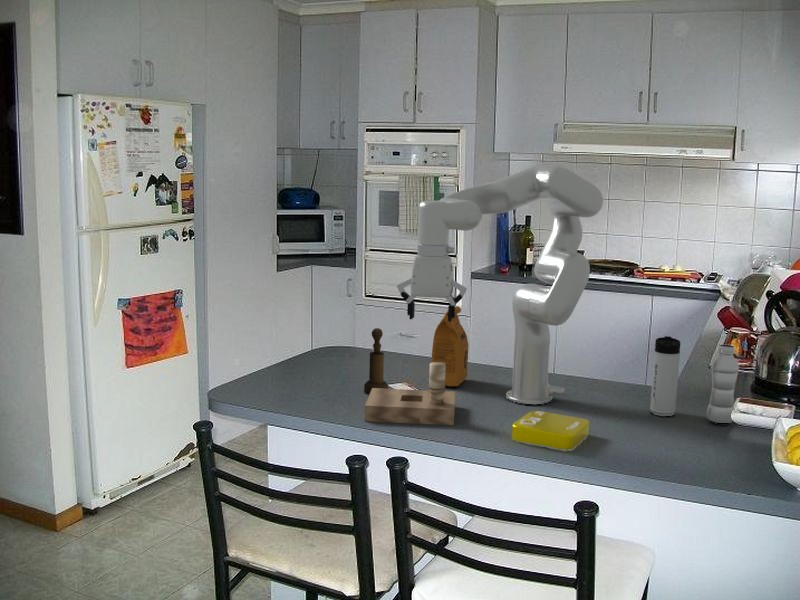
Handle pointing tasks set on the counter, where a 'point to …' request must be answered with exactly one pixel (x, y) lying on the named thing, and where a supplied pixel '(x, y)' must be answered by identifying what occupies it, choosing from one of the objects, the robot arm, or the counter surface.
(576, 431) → the element tile
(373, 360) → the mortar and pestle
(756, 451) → the counter surface
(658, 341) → the travel mug
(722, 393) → the plastic bottle
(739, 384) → the counter surface
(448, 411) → the board
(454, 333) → the coffee package
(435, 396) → the peg
